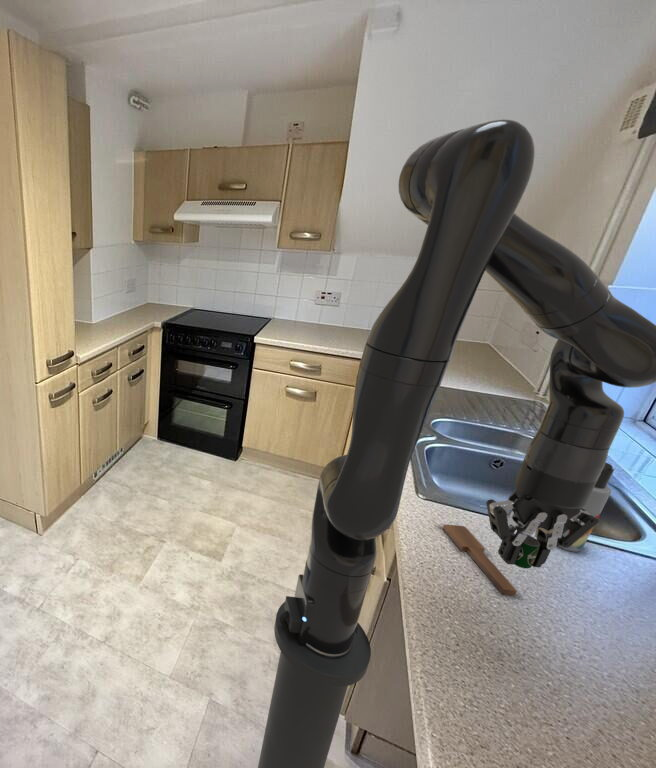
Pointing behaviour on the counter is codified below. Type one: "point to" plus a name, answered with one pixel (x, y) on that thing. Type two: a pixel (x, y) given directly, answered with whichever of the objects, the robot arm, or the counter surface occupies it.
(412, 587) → the counter surface
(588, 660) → the counter surface
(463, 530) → the spatula
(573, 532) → the robot arm
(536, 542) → the beer can
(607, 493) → the lotion bottle
